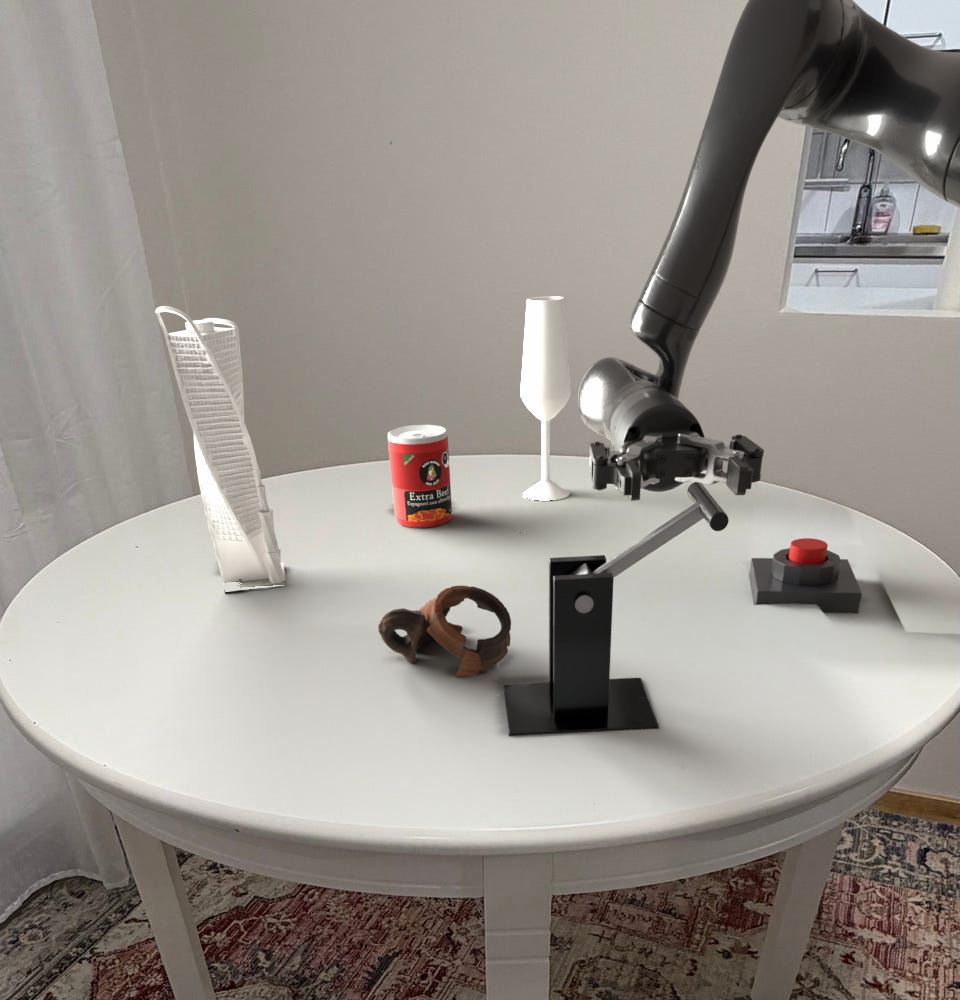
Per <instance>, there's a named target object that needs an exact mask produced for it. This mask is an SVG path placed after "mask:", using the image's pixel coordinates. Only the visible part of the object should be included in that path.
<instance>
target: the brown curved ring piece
mask: <svg viewBox="0 0 960 1000" xmlns="http://www.w3.org/2000/svg"><path fill="white" fill-rule="evenodd" d="M465 599H468V600H470V601H473V602H474V603H475V604H476V607H477V608H478V609H481V610H483V611H488V612H491V613H492V614H494V615H495V616H496V618H497V619H498V621H499V624H500V630H499V632H498V633H497V634H495V635H494V636H492V637H488V638H481V639H480V638H479V639H477V641H476V648H475V649H474V648H469V647H467V646H466V642H467V636H466V635H464V634H463V633H462V631H463V630H464V627H463V626H462V625H460V624H454V623H452V622H449V621H448V620H447V618H446V617H447V616H448V614H449V612H450V610H451V608H453V607H457V606H459V605H460V604H462V602H465ZM397 630H401V631H403V632H406V635H404V636H402V635H400V634H398V633H397V632H396V631H397ZM511 630H512V619H511V615H510V613H509V611H508V609H507V607H506V606H505V605H504V603H503V602H502V601H501V600H500V599H499V597H497V596H495V595H494V594H493V593H490V592H489V591H487V590H485V589H482V588H479V587H476V586H470V585H469V586H468V585H454V586H450V587H447V588H446V587H445V589H443V590H442V591H440V592H439V593H438V594H437V596H436V597H434V598H431V599H430V600H429V601H427V602H425V604H424V605H423V606H421V608H419V609H417V610H411V609H407V608H403V607H402V608H395V609H392V610H390V611H388V612H386V613H385V614H384V615H383V617H381V620H380V622H379V623H378V633H379V635H380V637H381V640H382V641H383V643H384V644H385V645H386V647H388V648H389V649H390V650H392V652H395V653H397V654H400V655H402V656H403V657H404V658H405V660H406V661H407V662H408V663H409V664H410V665H415V664H416V663H417V655H416V654H417V651H418V650H419V648H421V647H422V646H423V645H425V644H428V643H429V642H432V641H436V643H437V644H439V645H440V646H442V647H443V648H444V649H445V650H446V651H447V652H449V654H451V655H453V656H454V657H456V658H457V659H459V660H460V661H459V666H458V670H457V671H456V672H455V675H454V677H455V678H469V677H470V678H471V677H476V676H478V675H479V673H480V674H485V673H486V672H488V671H489V670H491V669H492V668H494V667H495V666H496V665H498V664H499V663H500V662H501V661H502V660H503V659H504V658H505V656H506V655H507V654H508V652H509V650H508V647H510V645H511V640H512V639H511Z"/></svg>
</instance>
